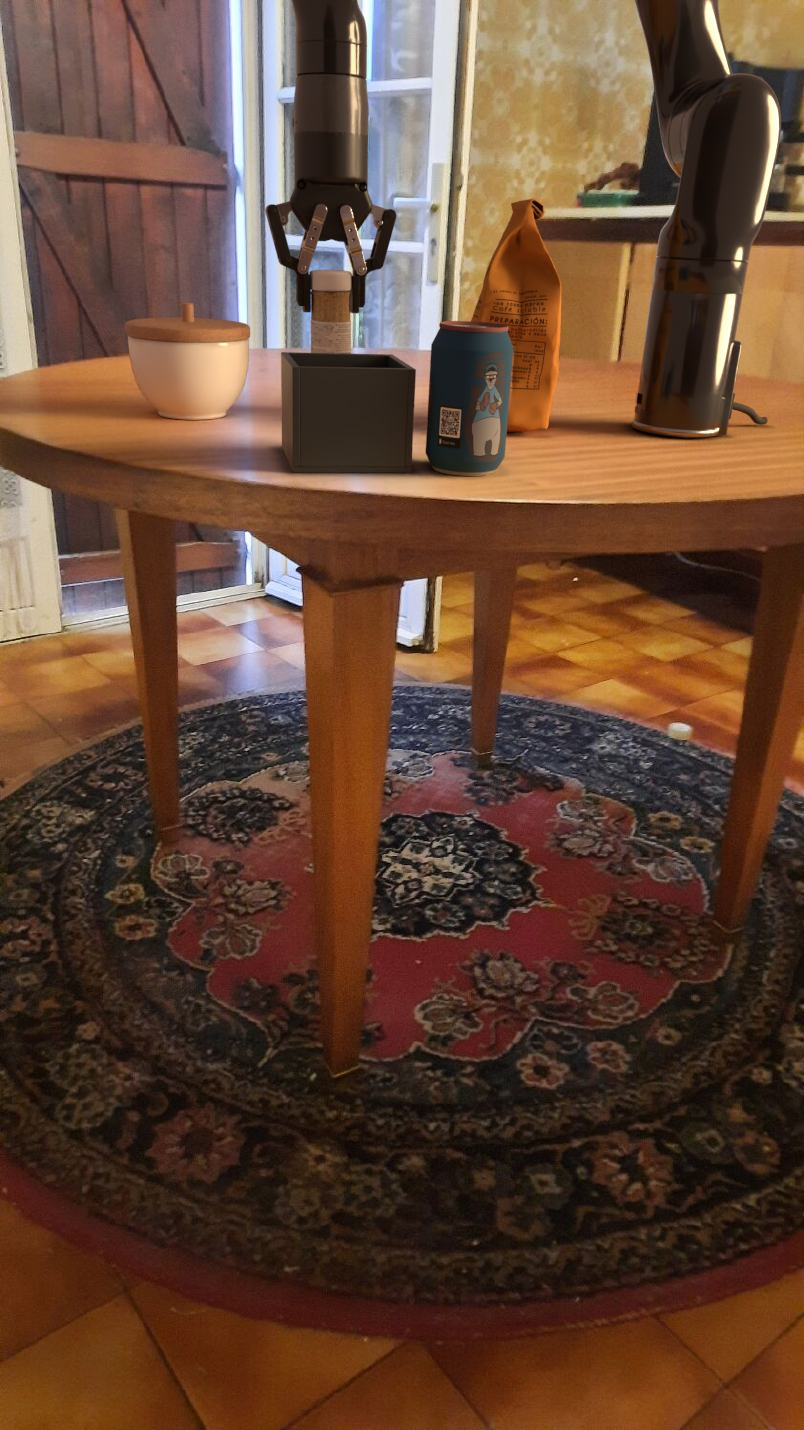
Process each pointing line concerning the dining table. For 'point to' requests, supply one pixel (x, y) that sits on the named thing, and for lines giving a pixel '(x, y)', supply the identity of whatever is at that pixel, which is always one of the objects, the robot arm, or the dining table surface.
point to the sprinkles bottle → (330, 311)
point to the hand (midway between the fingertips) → (330, 311)
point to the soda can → (468, 397)
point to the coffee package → (525, 315)
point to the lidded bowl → (189, 363)
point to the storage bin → (347, 412)
